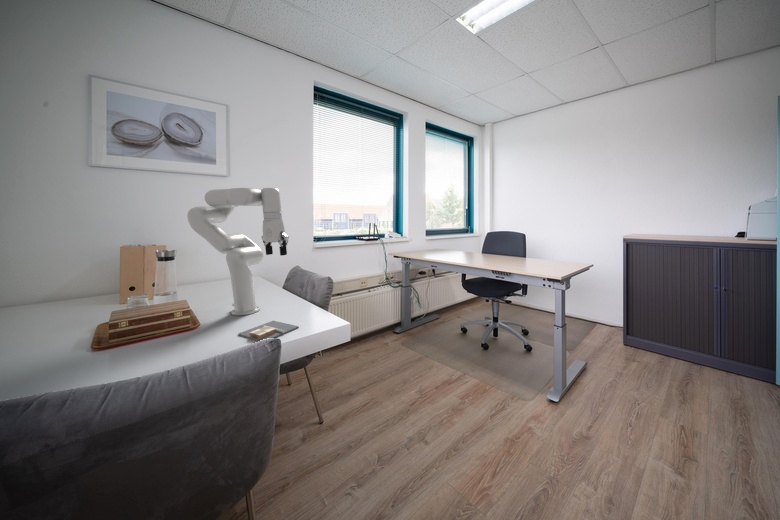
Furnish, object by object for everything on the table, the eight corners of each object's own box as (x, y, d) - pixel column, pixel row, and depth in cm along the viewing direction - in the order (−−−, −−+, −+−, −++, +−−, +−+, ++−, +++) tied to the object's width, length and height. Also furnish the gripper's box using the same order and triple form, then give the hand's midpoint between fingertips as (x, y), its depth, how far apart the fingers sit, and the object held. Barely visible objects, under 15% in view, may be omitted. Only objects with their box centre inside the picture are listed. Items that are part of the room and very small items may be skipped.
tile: (266, 330, 117) (250, 336, 111) (265, 326, 117) (249, 332, 111) (276, 332, 114) (260, 339, 108) (275, 328, 114) (259, 335, 108)
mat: (238, 335, 114) (237, 331, 114) (273, 321, 128) (272, 318, 128) (264, 342, 106) (263, 338, 106) (298, 327, 120) (298, 323, 119)
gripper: (253, 217, 132) (257, 255, 134) (278, 216, 123) (282, 256, 125) (267, 217, 138) (271, 253, 140) (292, 215, 129) (296, 254, 131)
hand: (276, 254), depth 133 cm, fingers open, 9 cm apart
